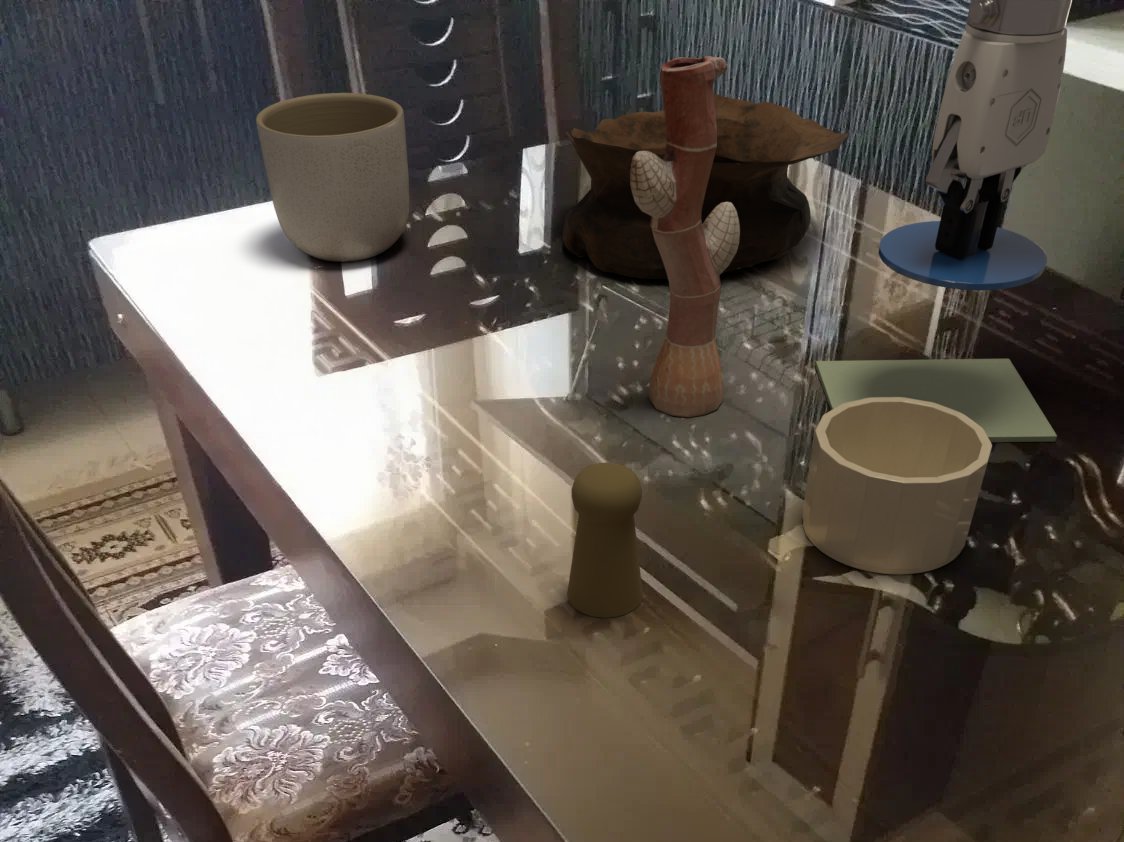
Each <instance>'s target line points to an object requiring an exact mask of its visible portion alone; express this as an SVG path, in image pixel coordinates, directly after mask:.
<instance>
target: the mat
mask: <svg viewBox="0 0 1124 842" xmlns="http://www.w3.org/2000/svg"><path fill="white" fill-rule="evenodd" d="M814 367H815V371H816V372H817V376H818V378H819V381H820V384H821V387H822V390H823V392H824V393H823V394H824V396H825V398H826V401H827V405H828V407H829V409H830V410H829V411H831V410H832V409H834V408H836V407H837V406H839V405H841V404H843V403H847V402H852V401H856V400H861V399H865V398H871V397H901V398H902V397H904V398H910V399H916V400H922V401H928V402H933V403H937V404H939V405H942V406H944V407H947V408H950V409H952V410H955V411H958V412H960V413H962V414H964V415H965V416H967V417H968V418H970V419H971V420H972V421H974V422H975V423H976V424H978V425H979V426H981V427H982V428H983V429H984V431H985V433H986V434H987V436H988V438H989V440H990V442H991V443H1031V442H1032V443H1044V442H1045V443H1048V442H1051V443H1052V442H1055V443H1056V440H1057V438H1058V435H1057V433H1056V432H1055V430H1054V428H1053V427H1052V425H1051V424H1050V422H1049V421H1048V419H1047V417H1046V415H1045V414H1044V413H1043V410H1042V409H1041V407H1040V406H1039V404H1038V403H1037V402H1036V399H1035V398H1034V397H1033V395H1032V393H1031V391H1030V390H1029V388H1028V386H1027V385H1026V384H1025V382H1024V380H1023V378H1022V377H1021V375H1020V373H1018V370H1017V369H1016V367H1015V366H1014V364H1013V363H1012V361H1011V359H1010V358H952V359H949V358H946V359H943V358H942V359H941V358H939V359H886V360H885V359H874V360H873V359H870V360H865V359H863V360H816V361H815V366H814Z"/></svg>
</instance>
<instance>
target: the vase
mask: <svg viewBox="0 0 1124 842" xmlns="http://www.w3.org/2000/svg"><path fill="white" fill-rule="evenodd" d="M727 70H728V64H727V61H726V60H725V58H723V57H720V56H718V57H717V56H716V57H714V56H712V55H705V56H703V57H677V58H673V59H670V60H668V61H666V62H665V63H663V64H662V65H661V67H660V74H659V85H660V91H661V96H662V106H663V110H664V114H665V121H666V148H665V155H664V157H663V159H661V158H659V157H658V156H657V155H655V154H654V153H652V152H649V151H638V152H637V153H636V154H635V155H634V156H633V159H632V163H631V171H630V185H631V189H632V194H633V197H634V200H635V203H636V204H637V205H638V207H639V208H640V209H641V211H643V212H645V213H646V214H648V215H650V216H651V223H650V224H651V228H652V232H653V235H654V239H655V242H656V245H657V247H658V250H659V252H660V255H661V257H662V260H663V263H664V266H665V269H666V273H667V276H668V279H667V280H668V285H669V310H668V322H667V328H666V333H665V338H664V340H663V342H662V345H661V347H660V350H659V352H658V355H657V358H656V360H655V363H654V365H653V369H652V372H651V375H650V379H649V386H648V399H649V400H650V402H651V404H652V405H653V406H654V408H655V409H656V410H657V411H659V412H662V413H664V414H666V415H668V416H671V417H679V418H680V417H681V418H692V417H693V418H694V417H700V416H705V415H707V414H711V413H713V412H715V411H716V410H718V408H719V407H720V406H721V404H722V403H723V402H724V377H723V371H722V370H723V369H722V364H721V359H720V355H719V350H718V345H717V340H716V336H717V335H716V332H717V318H718V312H719V311H718V310H719V304H720V300H721V291H722V289H721V288H722V285H721V278H720V275H721V274H723V273H722V272H723V271H724V270H725V269H726V268H727V267H728V266H729V264H730V263H731V261H732V259H733V258H734V256H735V254H736V252H737V249H738V245H739V238H740V225H739V219H738V215H737V211H736V209H735V207H734V206H733V204H732V203H731V202H723V203H720V204H719V205H718V206H717V207H715V209H714V210H713V211H712V212H711V213H710V214H709V216H708V217H707V218H706V220H705V221H704V223H703V224H702V221H701V212H702V206H703V201H704V197H705V192H706V188H707V184H708V180H709V176H710V172H711V168H712V164H713V160H714V156H715V152H716V148H717V126H716V115H715V104H714V94H715V93H714V84H715V80H716V79H717V78H719V77H721V76H722V75H723V74H724V73H726V71H727Z"/></svg>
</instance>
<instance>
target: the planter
mask: <svg viewBox="0 0 1124 842" xmlns="http://www.w3.org/2000/svg"><path fill="white" fill-rule="evenodd" d="M255 123H256V129H257V135H258V141H259V145H260V150H261V154H262V159H263V162H264V168H265V175H266V179H267V183H268V187H269V193H270V196H271V200H272V204H273V208H274V211H275V214H276V218H277V221H278V223H279V226H280V228H281V230H282V232H283V233H284V235H285V237H286V238H287V239H288V240H289V241H290V242H291V244H293V245H294V246H295V247H296V248H298V250H301V251H302V252H304V253H305V254H307V255H308V256H310V257H313V258H315V259H319V260H322V261H328V262H339V263H340V262H357V261H362V260H367V259H370V258H373V257H376V256H378V255H380V254H382V253H384V252H385V251H387V250H388V249H390V248H391V247H392V246H393V245H394V244H395V243H396V242H397V241H398V240H399V239H400V237H401V236H402V234H403V233H404V230H405V228H406V226H407V224H408V220H409V213H410V211H409V210H410V180H409V179H410V178H409V163H408V150H407V137H406V136H407V135H406V124H405V113H404V109H403V107H402V106H401V104H399V103H397V102H396V101H395V100H392V99H389V98H387V97H383V96H379V95H374V94H367V93H356V92H329V93H315V94H308V95H303V96H297V97H293V98H288V99H285V100H281V101H278V102H276V103H273V104H270V105H268V106H267V107H265V108H263V109H262V110H261V111H260V112H258V114H257V115H256V117H255Z"/></svg>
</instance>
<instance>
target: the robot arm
mask: <svg viewBox="0 0 1124 842" xmlns="http://www.w3.org/2000/svg"><path fill="white" fill-rule="evenodd" d="M1072 2H1073V0H970V3H969V7H968V12H967V17H966V21H965V26H964V33H962V35H961V38H960V41H959V44H958V46H957V49H956V53H955V55H954V58H953V61H952V65H951V68H950V71H949V74H948V78H947V80H946V84H945V89H944V92H943V94H942V95H943V96H942V100H941V103H940V107H939V111H938V116H937V119H936V120H937V121H936V124H935V130H934V135H933V141H932V148H931V161H932V164H931V167H930V168H929V170H928V173H927V175H926V177H925V184H926V185H927V186H929V187H930V188H932V189H934V190H936V191H937V193H938V194H939V197H940V198H939V203H940V204H941V205H942V211H941V216H940V220H939V221H940V225H939V229H938V234H937V239H936V243H935V248H936V250H938V251H940V252H943V253H945V254H948V255H950V256H953V257H955V258H957V259H962V258H965V257H966V255H967V253H968V248H969V244H970V240H971V236H972V231H973V227H974V223H975V219H976V214H977V212H976V211H973V210H972V208H973V206H974V203H975V199H976V195H977V193H978V194H982V195H985V196H987V197H988V198H989V199H990V201H989V205H988V209H987V213H986V218H985V222H984V226H983V230H982V234H981V238H980V243H979V247H978V248H981V249H983V250H988V249H991V248H992V246H993V242H994V238H995V234H996V230H997V227H998V226H999V222H1000V218H1001V214H1002V210H1003V207H1004V202H1006V201H1007V200H1008V199H1009V198H1010V195H1011V191H1012V186H1013V183H1014V182H1015V181H1016V179H1017V178H1018V177H1019V175H1020V173H1021V171H1022V170H1023V169H1025V168H1026V167H1027V166H1028V165H1030V164H1032V163H1034V162H1036V161H1038V160H1039V159H1040V158H1041V157H1043V155H1044V154H1045V152H1046V150H1047V147H1048V144H1049V141H1050V136H1051V133H1052V128H1053V124H1054V120H1055V117H1056V116H1055V115H1056V111H1057V106H1058V101H1059V97H1060V91H1061V85H1062V81H1063V75H1064V68H1065V63H1066V62H1065V61H1066V53H1067V43H1068V42H1067V41H1068V29H1067V28H1066V25H1067V21H1068V17H1069V13H1070V9H1071V6H1072ZM960 179H963V180H966V182H965V185H964V186H963V183H962V181H960Z"/></svg>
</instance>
